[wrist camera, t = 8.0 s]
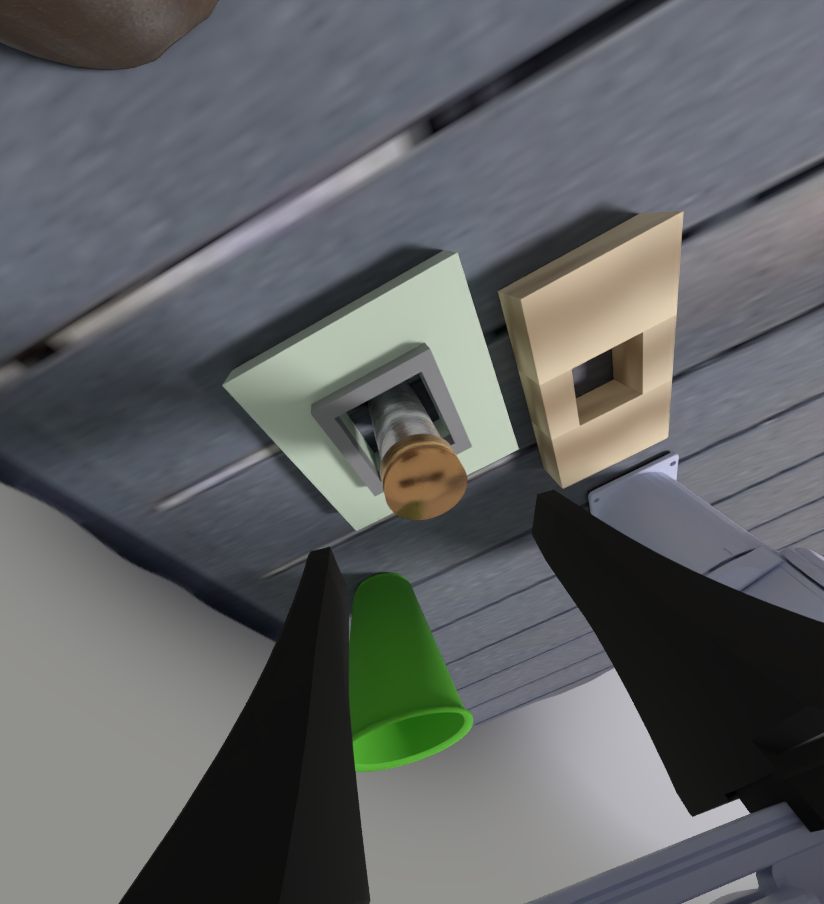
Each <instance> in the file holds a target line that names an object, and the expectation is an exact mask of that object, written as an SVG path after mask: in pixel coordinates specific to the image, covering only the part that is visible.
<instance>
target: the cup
mask: <svg viewBox="0 0 824 904" xmlns="http://www.w3.org/2000/svg"><path fill="white" fill-rule="evenodd" d="M349 702H350V717H351V728H352V740H353V751H354V761H355V771H356V772H370V771H378V770H384V769H390V768H394V767H398V766H402V765H405V764H409V763H412V762H415V761H418V760H421V759H423V758H426V757H428V756H431V755H433V754H435V753H437V752H439V751H441V750H444V749H446V748H447V747H449V746H451V745H452V744H454V743H456V742H457V741H458V740H460V739H461V738H462V737H464V736H465V735H466V734H467V733H468V731H469V730H470V729H471V727H472V724H473V716H472V713H471V712H470V711H468V710H467V709H464V707H463V704H462V702H461V700H460V697H459V695H458V693H457V690H456V688H455V686H454V684H453V681H452V679H451V677H450V674H449V672H448V670H447V667H446V665H445V663H444V660H443V658H442V656H441V654H440V651H439V649H438V647H437V644H436V642H435V640H434V637H433V635H432V633H431V630H430V628H429V626H428V624H427V621H426V619H425V617H424V614H423V612H422V610H421V607H420V605H419V603H418V600H417V598H416V596H415V594H414V591H413V589H412V587H411V584H410V583H409V582H408V581H407V580H406V579H405V577H403V576H401V575H399V574H395V573H382V574H378V575H375V576H372V577H370V578H368V579H366V580H364V581H363V582H362V583H361V584H360V585H359V586H358V588H357V590H356V592H355V595H354V597H353V608H352V619H351V630H350V642H349Z"/></svg>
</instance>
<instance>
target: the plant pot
mask: <svg viewBox="0 0 824 904" xmlns="http://www.w3.org/2000/svg"><path fill="white" fill-rule="evenodd" d="M217 2H218V0H0V42H1V43H3V44H5V45H7V46H10V47H13V48H15V49H18V50H20V51H23V52H26V53H28V54H31V55H34V56H37V57H41V58H44V59H48V60H51V61H55V62H58V63H62V64H67V65H71V66H78V67H85V68H93V69H109V70H110V69H123V68H134V67H137V66H140V65H143V64H147V63H150V62H153V61H155V60H157V59H158V58H159V57H160V56H161V55H163V54H164V53H165V52H166V51H167V50H168V49H169V48H170V47H171V46H172V45H173V44H175V43H176V42H177V41H178V40H180V39H181V38H182V37H184V36H185V35H186V34H187V33H189V32H190V31H191V30H192V29H193V28H194V27H196V26H197V25H198V24H199V23H201V22H202V21H204V20H206V19H207V18H208V17H209V16H210V15H211V13H212V11H213V10H214V8H215V6H216V4H217Z"/></svg>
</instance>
